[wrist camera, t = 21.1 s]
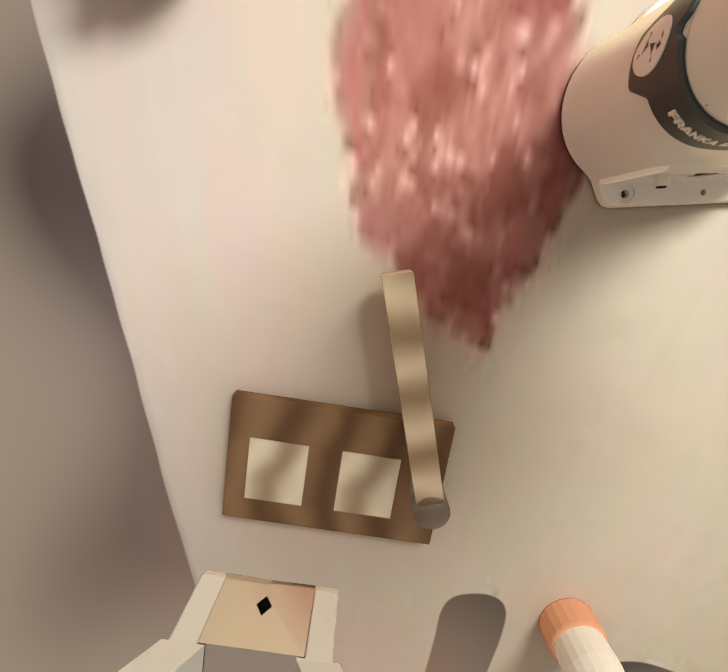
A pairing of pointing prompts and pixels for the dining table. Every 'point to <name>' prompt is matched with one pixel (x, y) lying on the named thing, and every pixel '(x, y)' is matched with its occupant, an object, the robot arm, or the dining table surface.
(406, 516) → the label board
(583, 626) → the pepper shaker
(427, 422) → the swing bar
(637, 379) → the dining table surface
